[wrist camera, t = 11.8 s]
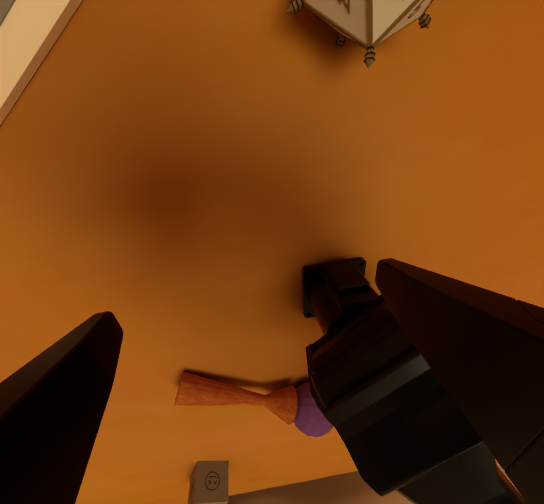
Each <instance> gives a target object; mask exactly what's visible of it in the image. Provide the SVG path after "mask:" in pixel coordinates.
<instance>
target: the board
mask: <svg viewBox="0 0 544 504" xmlns="http://www.w3.org/2000/svg"><path fill="white" fill-rule="evenodd" d="M81 2H82V0H0V125H1V124H2V122H3V121H4V119H5V118H6V116H7V115H8V113H9V112H10V110H11V109H12V107H13V105H14V104H15V102H16V101H17V99H18V98H19V96H20V95H21V93H22V92H23V90H24V89H25V87H26V86H27V84H28V83H29V81H30V80H31V78H32V76H33V75H34V73H35V72H36V70H37V69H38V67H39V66H40V64H41V63H42V61H43V60H44V58H45V57H46V55H47V54H48V52H49V51H50V49H51V48H52V46H53V44H54V43H55V41H56V40H57V38H58V37H59V35H60V34H61V32H62V31H63V29H64V28H65V26H66V25H67V23H68V22H69V20H70V19H71V17H72V15H73V14H74V12H75V11H76V9H77V8H78V6H79V5H80V3H81Z"/></svg>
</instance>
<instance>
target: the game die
mask: <svg viewBox="0 0 544 504" xmlns="http://www.w3.org/2000/svg"><path fill="white" fill-rule="evenodd" d="M432 1H433V0H293V1H290V5H289V7H288V9H287V11H286V12H287V13H294V14H295V13H296V12H297V11H300V10H299V9H300V8H301V6H303V5H304V6H305V7H306V8H308V9H309V10H310V11H311V12H313V13H314V14H315V15H316V16H318V17H319V18H320V19H321V20H323V21H324V22H325V23H326V24H328V25H329V26H330V27H331V28H333V29H334V30H335V31H336V32H338V33H339V34H340V36H338V37H337V38H338V39H337V40H336V43H337V49H338V48H339V47H341V46H343V44H344V42H345V38H347V39H349V40H351V41H352V42H354V43H356V44H358V45H360V46H362V47H364V48H366V49H367V53H366V54H365V60H364V62H365V64H366V66H367V68H368V69H369V67H370V66H371V64H372V63H373V61H375V58H374V55H375V53H374V47H376V46H377V45H379V44H381V43H382V42H384V41H385V40H387V39H388V38H390V37H391V36H393V35H394V34H396V33H397V32H399V31H401V30H402V29H404V28H405V27H407V26H408V25H410V24H411V23H413V22H414V21H416V20H418V19H419V25H421V27H420V28H429V24H430V20H431V18H429V15H428V14H425V11H426V10H427V9H428V7H429V6H430V4H431V3H432Z"/></svg>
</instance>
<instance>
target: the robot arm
mask: <svg viewBox="0 0 544 504" xmlns="http://www.w3.org/2000/svg"><path fill="white" fill-rule="evenodd" d="M360 262H361V263H360ZM359 263H360V264H359ZM365 267H366V261H365V260H364V259H363V258H355V259H344V260H338V261H332V262H326V263H323V264H317V265H311V266H306V267H304V268H303V269H302V289H303V314H304V316H305V317H306V318H310V317H315V316H316V318H317V320H318V323H319V325H320V327H321V329H322V331H323V334H324V336H323V337H321V338H320V339H319V340H317V341H316V342H314V343H313V344H310V345H308V346H307V347H306V354H307V365H308V375H309V384H310V392H311V395H312V397H313V398H314V400H315V404H316V406H317V407H318V408H319V409H320V411H321V412H322V414H323V415H324V416H325V418H326V419H327V420H328V421H329V422H330V423H331V424H332V425H333V426H334V427H335V428H336V430H337V432H338V433H339V435H340V437H341V438H342V440H343V441H344V443H345V445H346V447H347V449H348V451H349V453H350V455H351V457H352V459H353V461H354V463H355V465H356V467H357V469H358V471H359V473H360V475H361V477H362V479H363V480H364V481H365V482H366V483H367V484H368V485H369V486H370V487H371V488H372V489H374V491H375V492H376V493H378V494H379V495H380V496H385V495H387V494H388V493H390V492H393V491H394V490H396V491H397V492H399V493H400V494H401V495H403V496H404V497H405V498H407V499H408V500H410V501H411V502H412V503H414V504H544V308H542V307H539V306H536V305H533V304H530V303H526V302H523V301H520V300H517V301H516V299H514V298H511V297H508V296H505V295H502V294H499V293H496V292H493V291H490V290H487V289H483V288H480V287H477V286H474V285H471V284H468V283H465V282H462V281H459V280H456V279H453V278H450V277H447V276H444V275H441V274H438V273H435V272H432V271H428V270H425V269H422V268H419V267H416V266H413V265H410V264H407V263H404V262H401V261H398V260H395V259H392V258H388V259H383V260H380V261H379V262H378V264H377V270H376V277H375V282H376V285H377V287H378V289H379V291H380V292H381V295H380V296H379V295H378V294H377V293H376V292H375V291H374V289H373V288H372V287H371V286H370V283H369V281H368V280H367V279H366V278H365V277H364V275H365ZM308 270H309V272H307V273H306V271H308ZM307 313H308V314H307ZM122 339H123V330H122V328H121V326H120V324H119V323H118V321H117V319H116V318H115V316H114V314H113V313H112V312H110V311H107V312H101V313H96V314H94V315H93V316H91V317H90V318H89V319H87V320H86V321H85V322H83V323H82V324H80V325H79V326H78V327H76V328H75V329H74V330H72V331H71V332H69V333H68V334H67V335H65V336H64V337H63V338H61V339H60V340H59V341H57V342H56V343H54V344H53V345H52V346H50V347H49V348H48V349H46V350H45V351H43V352H42V353H41V354H39V355H38V356H37V357H35V358H34V359H32V360H31V361H30V362H28V363H27V364H26V365H24V366H23V367H21V368H20V369H19V370H17V371H16V372H15V373H13V374H12V375H11V376H9V377H8V378H6V379H5V380H4V381H2V382H1V383H0V504H75V502H76V499H77V496H78V493H79V489H80V486H81V483H82V480H83V477H84V474H85V471H86V467H87V464H88V461H89V458H90V455H91V452H92V449H93V445H94V442H95V439H96V436H97V433H98V430H99V427H100V423H101V420H102V417H103V414H104V411H105V408H106V405H107V402H108V398H109V395H110V392H111V389H112V385H113V382H114V378H115V373H116V368H117V363H118V358H119V353H120V349H121V344H122ZM494 457H495V458H494ZM495 459H496V460H497V462H498V463H499V464H500V466H501V467H502V468H503V469H504V470H505V473H506V474H507V476H508V477H509V479H510V480H511V481H512V483H513V484H514V485H515V487H516V488H517V490H518V491H519V492H518V491H517V490H516V488H515V487H514V486H513V485H512V483H511V482H510V481H509V480H508V479H507V477H506V476H505V475H504V474H503V472H502V471H501V470H500V469H499V467H498V466H497V465H496V462H495ZM520 494H521V495H522V496H521V495H520Z"/></svg>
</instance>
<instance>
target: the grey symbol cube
mask: <svg viewBox="0 0 544 504" xmlns="http://www.w3.org/2000/svg"><path fill="white" fill-rule="evenodd" d="M227 503H228V461H198V462H197V464H196V466H195V468H194V470H193V473H192V475H191V478H190V487H189V497H188V504H227Z"/></svg>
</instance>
